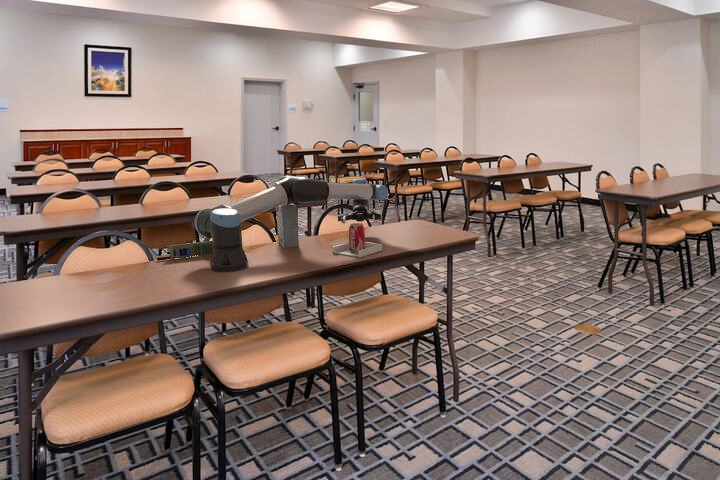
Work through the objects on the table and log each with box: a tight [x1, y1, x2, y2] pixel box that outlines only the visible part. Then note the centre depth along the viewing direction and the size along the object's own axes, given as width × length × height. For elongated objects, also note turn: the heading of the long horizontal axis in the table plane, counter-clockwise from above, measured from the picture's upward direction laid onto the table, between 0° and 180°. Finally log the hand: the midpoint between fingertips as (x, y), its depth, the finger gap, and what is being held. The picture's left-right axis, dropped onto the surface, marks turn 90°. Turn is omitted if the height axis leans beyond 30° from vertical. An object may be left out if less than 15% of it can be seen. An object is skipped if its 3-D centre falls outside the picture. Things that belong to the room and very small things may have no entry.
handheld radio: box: [156, 240, 213, 261], centre depth 250 cm, size 7×3×25 cm
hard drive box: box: [275, 203, 300, 249], centre depth 271 cm, size 16×8×20 cm, turn 17°
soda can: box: [348, 222, 366, 252], centre depth 250 cm, size 7×7×12 cm
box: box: [331, 241, 384, 259], centre depth 251 cm, size 16×16×3 cm
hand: (358, 220), depth 257 cm, fingers open, 13 cm apart
